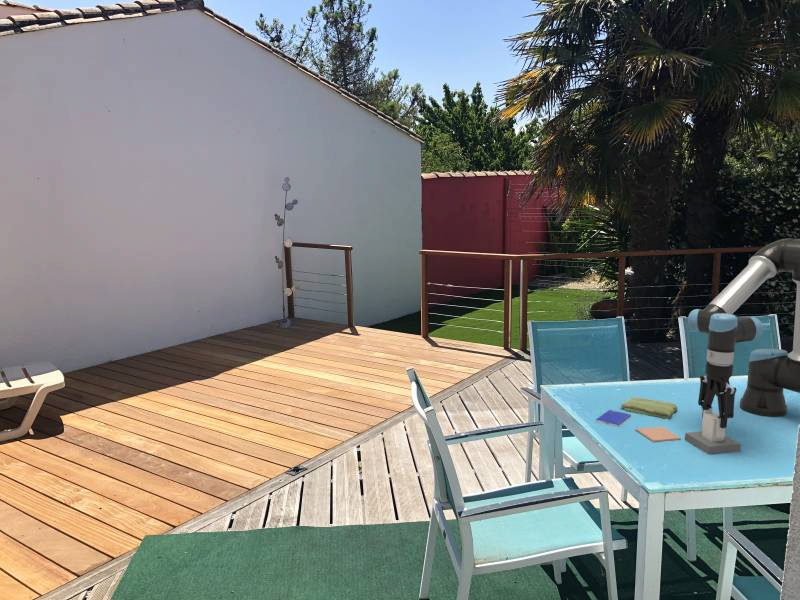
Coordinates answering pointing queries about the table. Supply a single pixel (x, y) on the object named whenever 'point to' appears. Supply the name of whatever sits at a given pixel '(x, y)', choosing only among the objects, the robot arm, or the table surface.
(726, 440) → the gray square ring
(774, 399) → the robot arm
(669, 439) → the pad
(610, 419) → the hard drive
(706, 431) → the plug
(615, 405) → the table surface
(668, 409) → the washcloth
